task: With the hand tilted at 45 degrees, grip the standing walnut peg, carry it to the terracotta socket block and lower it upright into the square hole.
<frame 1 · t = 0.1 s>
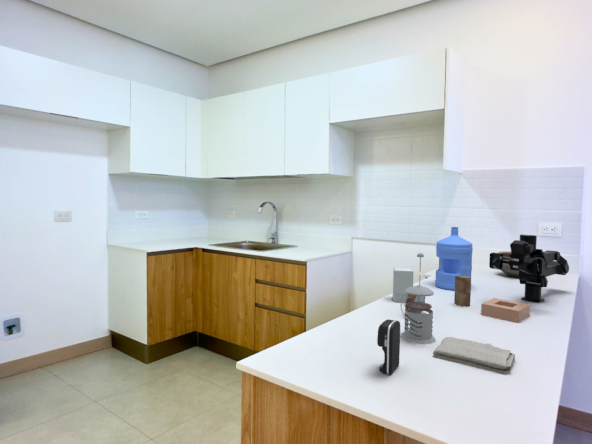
hand: (505, 265, 141), 17 cm above the worktop, tool horizontal, fingers open, 9 cm apart
socket: (505, 315, 136), on the worktop
peg: (462, 305, 148), on the worktop
french press: (415, 337, 114), on the worktop
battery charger: (387, 369, 92), on the worktop
water jug: (452, 287, 179), on the worktop
tin: (415, 314, 137), on the worktop
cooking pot: (515, 276, 206), on the worktop
washcloth: (473, 360, 99), on the worktop
supplement box: (402, 300, 155), on the worktop
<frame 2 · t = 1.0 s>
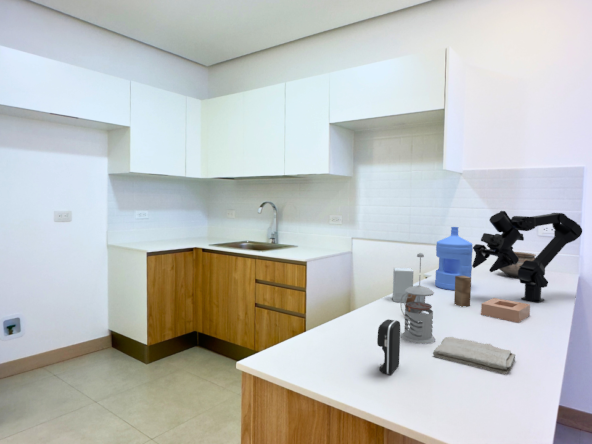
hand: (481, 269, 149), 14 cm above the worktop, tool tilted 45°, fingers open, 9 cm apart
nothing on the worktop moved.
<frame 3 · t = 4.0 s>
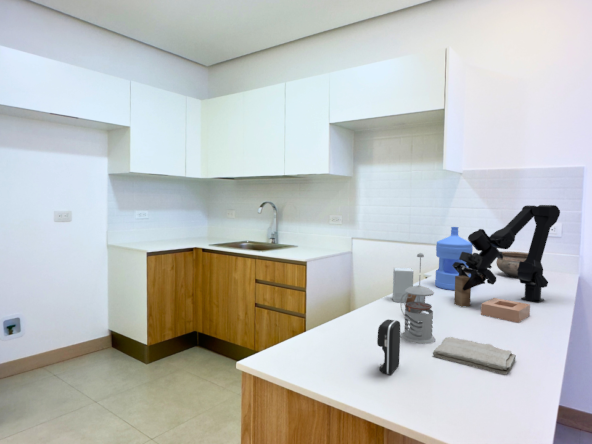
hand: (459, 288, 148), 7 cm above the worktop, tool tilted 45°, fingers closed on peg, 4 cm apart
peg: (462, 305, 148), on the worktop, touching gripper
everything else where it was.
when the fingers open (8 cm above the worktop, at t = 8.4 s): peg stays where it is, resting in socket.
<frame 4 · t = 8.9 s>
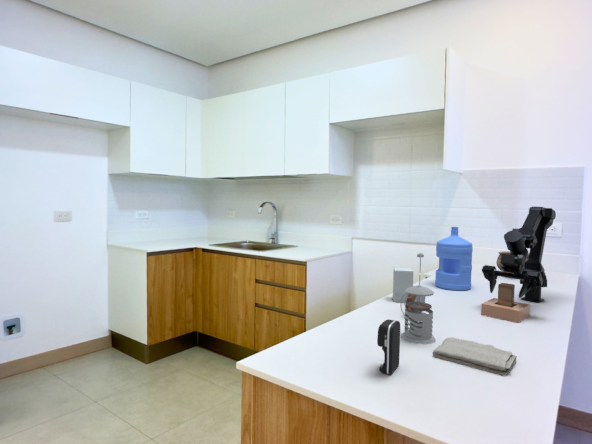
hand: (504, 294, 134), 8 cm above the worktop, tool tilted 45°, fingers open, 9 cm apart
peg: (505, 315, 136), resting in socket
everything else where it was.
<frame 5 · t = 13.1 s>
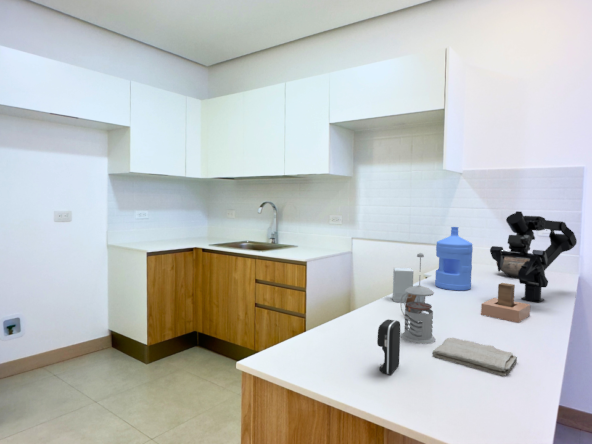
hand: (511, 272, 144), 14 cm above the worktop, tool tilted 45°, fingers open, 9 cm apart
nothing on the worktop moved.
at the end: peg 0.0 cm off-centre on the socket, point 0.0 cm above the socket's base; peg tilted 0°; the gripper is holding nothing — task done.
